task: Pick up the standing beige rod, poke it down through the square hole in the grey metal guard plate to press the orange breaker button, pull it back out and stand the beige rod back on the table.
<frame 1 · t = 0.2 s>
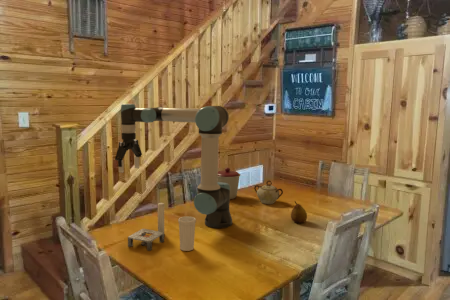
hand: (129, 170, 204), 28 cm above the table, fingers open, 13 cm apart
canister: (226, 197, 254), on the table
beige rod: (161, 234, 186), on the table
guard: (146, 243, 174), on the table
breaker: (146, 238, 173), point 3 cm above the table, slide at 0.0 cm
sugar bowl: (267, 202, 245), on the table
fruit: (298, 222, 208), on the table
cup: (186, 249, 169), on the table
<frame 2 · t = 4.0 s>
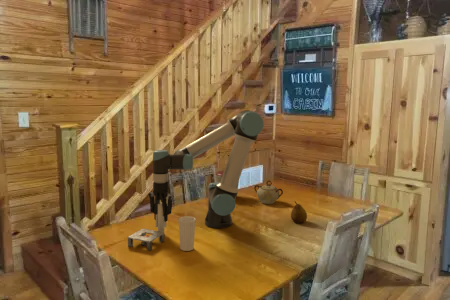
hand: (161, 226, 185), 4 cm above the table, fingers closed on beige rod, 3 cm apart
beige rod: (161, 234, 186), on the table, touching gripper
everything else where it was.
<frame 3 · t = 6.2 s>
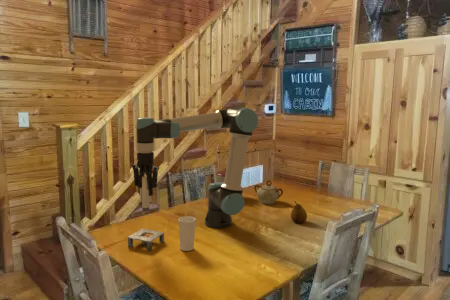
hand: (145, 201, 171), 21 cm above the table, fingers closed on beige rod, 3 cm apart
beige rod: (145, 210, 171), point 17 cm above the table, touching gripper
everything else where it was.
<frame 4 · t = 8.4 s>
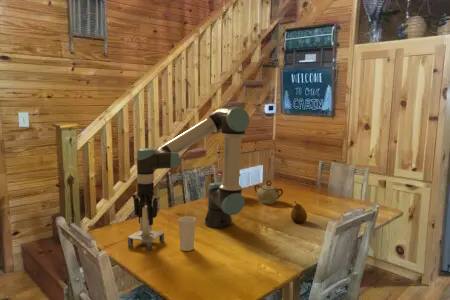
hand: (145, 230, 173), 7 cm above the table, fingers closed on beige rod, 3 cm apart
beige rod: (146, 239, 173), point 2 cm above the table, touching breaker, gripper
breaker: (146, 241, 173), point 1 cm above the table, slide at 1.6 cm, touching guard, beige rod
everything else where it was.
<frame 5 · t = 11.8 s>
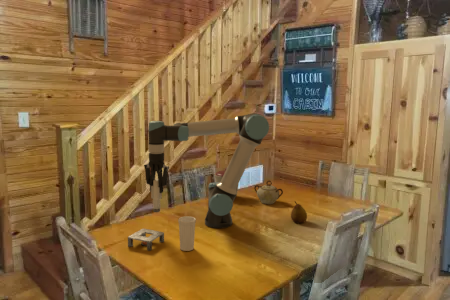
hand: (156, 198, 185), 18 cm above the table, fingers closed on beige rod, 3 cm apart
beige rod: (156, 211, 186), point 12 cm above the table, touching gripper
breaker: (146, 241, 173), point 1 cm above the table, slide at 1.6 cm, touching guard
everything else where it was.
when the fingers open (5 cm above the table, at t = 14.3 s): beige rod stays where it is, on the table.
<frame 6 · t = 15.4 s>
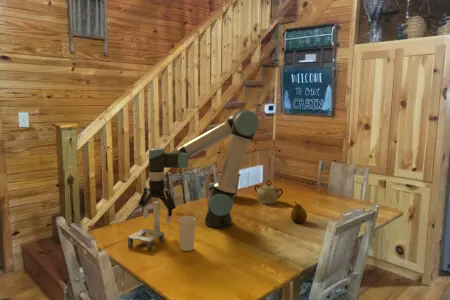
hand: (157, 220, 187), 7 cm above the table, fingers open, 13 cm apart
beige rod: (156, 232, 188), on the table
everything else where it was.
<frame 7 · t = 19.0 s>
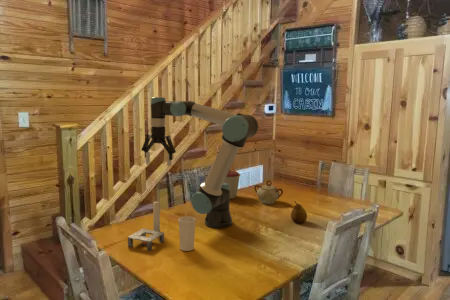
hand: (158, 164, 201), 32 cm above the table, fingers open, 13 cm apart
nothing on the table moved.
at the end: breaker slide at 1.6 cm; beige rod tilted 0°; the gripper is holding nothing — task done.
